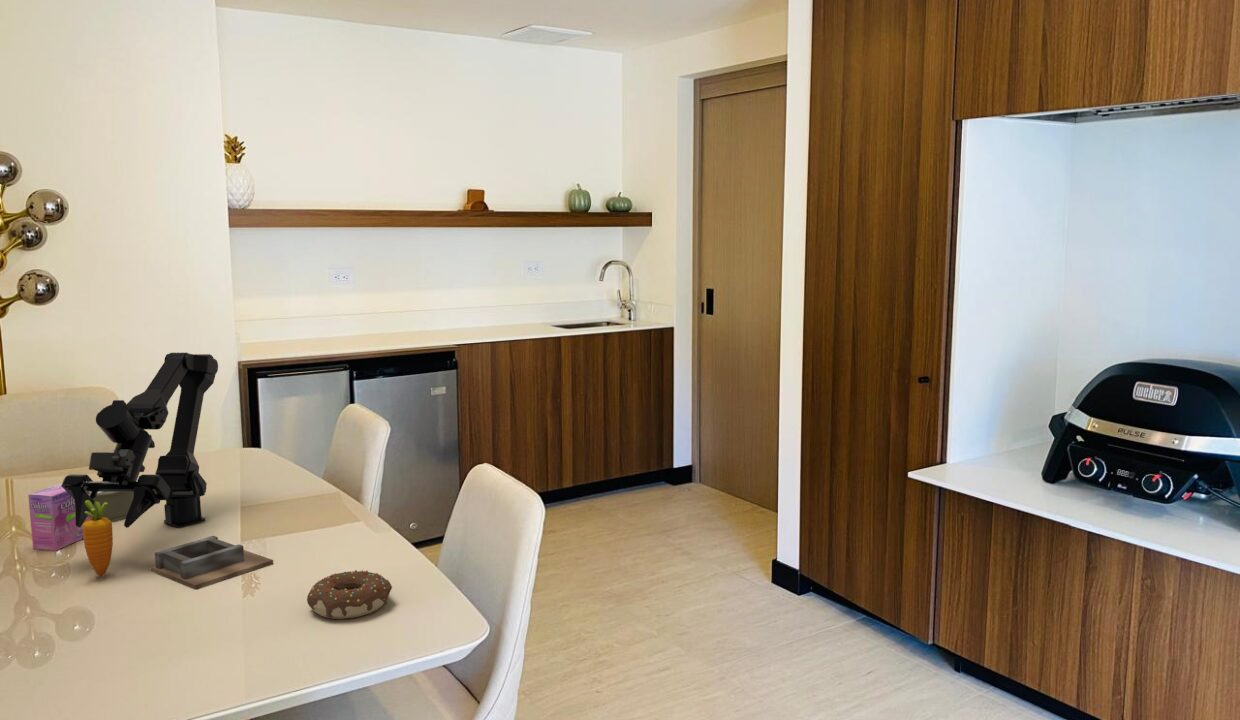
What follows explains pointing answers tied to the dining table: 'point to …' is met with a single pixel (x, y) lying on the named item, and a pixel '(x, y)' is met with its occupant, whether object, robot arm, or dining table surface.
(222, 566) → the grey frame on base
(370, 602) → the donut
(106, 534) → the carrot
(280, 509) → the dining table surface
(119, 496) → the can
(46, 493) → the box
